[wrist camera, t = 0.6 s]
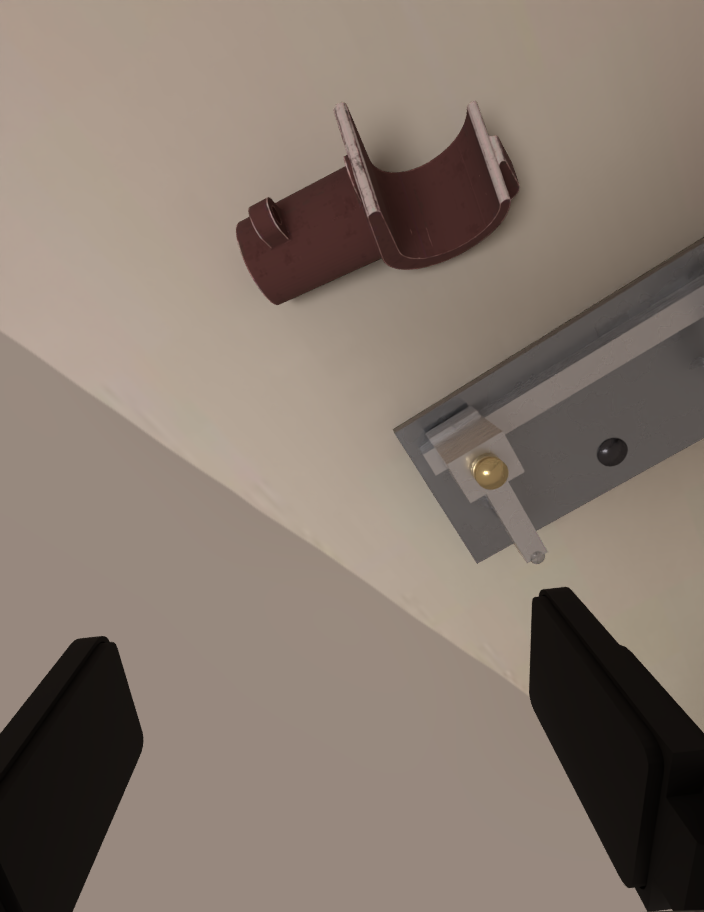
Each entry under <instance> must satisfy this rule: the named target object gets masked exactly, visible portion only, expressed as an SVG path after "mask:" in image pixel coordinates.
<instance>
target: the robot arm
mask: <svg viewBox="0 0 704 912" xmlns="http://www.w3.org/2000/svg"><path fill="white" fill-rule="evenodd" d="M529 695H530V700H531V704H532V707H533V709H534V711H535V713H536V715H537V717H538V719H539V721H540V723H541V725H542V727H543V729H544V731H545V733H546V735H547V737H548V739H549V741H550V743H551V745H552V746H553V748H554V750H555V752H556V754H557V756H558V758H559V760H560V762H561V764H562V766H563V768H564V770H565V772H566V774H567V776H568V778H569V779H570V782H571V783H572V785H573V787H574V789H575V791H576V793H577V795H578V797H579V799H580V801H581V803H582V805H583V807H584V809H585V811H586V813H587V814H588V817H589V819H590V820H591V822H592V824H593V826H594V828H595V830H596V832H597V834H598V836H599V838H600V840H601V842H602V844H603V846H604V848H605V850H606V852H607V854H608V855H609V857H610V859H611V861H612V863H613V865H614V867H615V869H616V871H617V873H618V875H619V876H620V878H621V880H622V882H623V883H624V884H625V885H626V886H627V887H628V888H634V887H635V889H636V891H637V893H638V895H639V896H640V898H641V900H642V902H643V904H644V906H645V908H646V910H647V912H651V911H652V912H704V733H703V732H702V731H701V729H700V728H699V727H698V726H697V725H696V724H695V723H694V722H693V720H692V719H691V718H690V717H689V716H688V715H687V714H686V713H685V712H684V710H683V709H682V708H681V707H680V706H679V705H678V704H677V703H676V701H675V700H674V699H673V698H672V697H671V696H670V695H669V694H668V692H667V691H666V690H665V689H664V688H663V687H662V686H661V685H660V684H659V682H658V681H657V680H656V679H655V678H654V677H653V676H652V675H651V673H650V672H649V671H648V670H647V669H646V668H645V667H644V666H643V664H642V663H641V662H640V661H639V660H638V659H637V658H636V657H635V655H634V654H633V653H632V652H631V651H630V650H628V649H627V648H626V647H624V646H622V645H619V644H618V643H617V641H616V640H615V639H614V638H613V637H612V636H611V635H610V633H609V632H608V631H607V630H606V629H605V628H604V627H603V626H602V624H601V623H600V622H599V621H598V620H597V619H596V618H595V616H594V615H593V614H592V613H591V612H590V611H589V610H588V608H587V607H586V606H585V605H584V604H583V603H582V602H581V600H580V599H579V598H578V597H577V596H576V595H575V594H574V592H573V591H572V590H571V589H570V588H568V587H561V588H552V589H543V590H541V591H540V593H539V597H534V598H533V600H532V620H531V651H530V682H529ZM142 747H143V732H142V729H141V726H140V722H139V719H138V716H137V712H136V709H135V706H134V702H133V699H132V696H131V692H130V689H129V686H128V682H127V679H126V675H125V672H124V669H123V665H122V662H121V659H120V655H119V652H118V648H117V646H116V644H115V643H114V642H109V640H108V638H107V637H105V636H99V637H89V638H80V639H76V640H75V641H74V642H73V643H71V645H70V646H69V647H68V648H67V650H66V651H65V652H64V654H63V655H62V656H61V657H60V659H59V660H58V661H57V663H56V664H55V665H54V666H53V667H52V669H51V670H50V671H49V673H48V674H47V675H46V676H45V678H44V679H43V680H42V681H41V683H40V684H39V685H38V687H37V688H36V689H35V690H34V692H33V693H32V694H31V696H30V697H29V698H28V699H27V701H26V702H25V703H24V704H23V706H22V707H21V708H20V709H19V711H18V712H17V713H16V714H15V716H14V717H13V718H12V719H11V721H10V722H9V723H8V725H7V726H6V727H5V728H4V730H3V731H2V732H1V733H0V912H73V909H74V907H75V905H76V902H77V900H78V898H79V895H80V893H81V891H82V888H83V886H84V883H85V882H86V879H87V877H88V874H89V872H90V870H91V867H92V865H93V863H94V861H95V858H96V856H97V853H98V852H99V849H100V847H101V844H102V842H103V840H104V838H105V835H106V833H107V831H108V828H109V826H110V824H111V821H112V819H113V817H114V815H115V812H116V810H117V807H118V805H119V803H120V801H121V798H122V796H123V794H124V791H125V789H126V787H127V785H128V782H129V780H130V777H131V775H132V773H133V770H134V768H135V766H136V764H137V761H138V759H139V757H140V754H141V752H142ZM668 909H672V910H673V911H659V910H668Z"/></svg>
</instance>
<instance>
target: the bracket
mask: <svg viewBox="0 0 704 912" xmlns="http://www.w3.org/2000/svg"><path fill="white" fill-rule="evenodd" d="M333 111H334V114H335V117H336V120H337V123H338V127H339V130H340V133H341V136H342V139H343V142H344V145H345V148H346V152H347V155H346V156H344V161H345V165H346V166H345V167H343V168H341V169H339V170H337V171H336V172H334V173H332V174H330V175H328V176H326V177H324V178H322V179H320V180H318V181H317V182H315V183H313V184H311V185H309V186H307V187H305V188H303V189H301V190H299V191H298V192H296V193H294V194H292V195H290V196H288V197H286V198H284V199H282V200H280V201H279V202H277V203H274V202H273V200H272V199H271V198H269V197H268V198H266V199H264V200H262V201H260V202H258V203H256V204H254V205H253V206H251V207H249V209H248V212H249V216H250V217H248V218H246V219H244V220H242V221H241V222H239V223H238V224H237V227H236V236H237V241H238V245H239V248H240V252H241V254H242V257H243V260H244V262H245V264H246V266H247V269H248V271H249V273H250V274H251V276H252V278H253V280H254V281H255V283H256V285H257V286H258V288H259V289H260V291H261V292H262V293H263V294H264V296H265V297H266V298H267V299H268V300H269V301H270V302H272V303H273V304H275V305H279V304H282V303H284V302H286V301H288V300H290V299H293V298H295V297H297V296H299V295H301V294H304V293H306V292H308V291H310V290H312V289H315V288H317V287H319V286H321V285H324V284H326V283H328V282H330V281H332V280H335V279H337V278H339V277H341V276H343V275H346V274H348V273H350V272H352V271H354V270H357V269H359V268H361V267H363V266H366V265H368V264H370V263H372V262H374V261H377V260H379V259H381V258H382V259H383V261H384V262H385V263H386V264H387V265H388V266H390V267H392V268H396V269H402V270H410V269H419V268H424V267H428V266H432V265H435V264H438V263H441V262H444V261H446V260H449V259H451V258H453V257H455V256H458V255H460V254H461V253H463V252H465V251H467V250H469V249H470V248H472V247H473V246H475V245H476V244H478V243H479V242H481V241H482V240H483V239H485V238H486V237H487V236H488V235H490V234H491V233H492V232H493V231H494V230H495V229H496V228H497V227H498V226H499V225H500V224H501V222H502V221H503V220H504V218H505V217H506V215H507V213H508V211H509V208H510V204H511V199H512V198H513V197H514V196H515V195H516V194H517V193H518V191H519V189H520V185H519V182H518V179H517V177H516V174H515V171H514V168H513V165H512V162H511V160H510V158H509V157H508V155H507V153H506V151H505V149H504V147H503V145H502V143H501V141H500V140H499V138H498V136H497V135H494V136H489V135H488V133H487V130H486V127H485V124H484V121H483V118H482V115H481V112H480V110H479V107H478V104H477V101H472V102H470V103H469V104H468V106H467V115H466V119H465V123H464V125H463V127H462V129H461V131H460V133H459V134H458V136H457V137H456V139H455V140H454V141H453V142H452V143H451V145H450V146H449V147H448V148H447V149H446V150H445V151H443V152H442V153H441V154H440V155H438V156H437V157H436V158H434V159H433V160H431V161H430V162H428V163H426V164H424V165H422V166H420V167H418V168H415V169H412V170H409V171H405V172H397V173H391V172H385V171H382V170H379V169H378V168H376V167H375V166H374V165H373V164H372V163H371V161H370V159H369V157H368V155H367V152H366V150H365V147H364V145H363V143H362V140H361V138H360V136H359V133H358V131H357V128H356V126H355V124H354V121H353V119H352V116H351V114H350V112H349V109H348V107H347V105H346V103H344V102H339V103H338V104H336V105H335V107H334V110H333Z"/></svg>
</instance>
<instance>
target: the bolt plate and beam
mask: <svg viewBox="0 0 704 912" xmlns="http://www.w3.org/2000/svg"><path fill="white" fill-rule="evenodd" d="M469 406H472V407H473V408H474V409H476V410H477V411H478V413H479V414H480V415H481V416H483V417H484V418H485V419H487V420H488V421H490V422H491V423H492V424H494V425H495V426H496V427H498V428H499V429H500V430H502V431H503V432H504V434H505V436H506V438H507V440H508V442H509V443H510V445H511V447H512V449H513V451H514V452H515V454H516V456H517V458H518V460H519V461H520V463H521V465H522V467H523V469H524V471H525V472H524V473H522V474H520V475H519V476H517V477H515V478H513V479H512V480H510V481H508V482H509V484H510V486H511V488H512V490H513V491H514V493H515V495H516V497H517V498H518V500H519V502H520V504H521V505H522V507H523V509H524V511H525V512H526V514H527V516H528V518H529V519H530V521H531V523H532V525H533V526H534V528H535V530H536V531H537V530H539V529H541V528H542V527H544V526H546V525H548V524H550V523H551V522H553V521H555V520H557V519H559V518H560V517H562V516H564V515H566V514H568V513H569V512H571V511H573V510H575V509H577V508H578V507H580V506H582V505H584V504H586V503H587V502H589V501H591V500H593V499H595V498H596V497H598V496H600V495H602V494H604V493H605V492H607V491H609V490H611V489H613V488H614V487H616V486H618V485H620V484H622V483H623V482H625V481H627V480H629V479H631V478H632V477H634V476H636V475H638V474H640V473H641V472H643V471H645V470H647V469H649V468H651V467H652V466H654V465H656V464H658V463H660V462H661V461H663V460H665V459H667V458H669V457H670V456H672V455H674V454H676V453H678V452H679V451H681V450H683V449H685V448H687V447H688V446H690V445H692V444H694V443H696V442H697V441H699V440H701V439H703V438H704V237H703V238H702V239H700V240H698V241H697V242H695V243H693V244H692V245H690V246H689V247H687V248H685V249H684V250H682V251H681V252H679V253H677V254H676V255H674V256H672V257H671V258H669V259H668V260H666V261H664V262H663V263H661V264H660V265H658V266H656V267H655V268H653V269H651V270H650V271H648V272H647V273H645V274H643V275H642V276H640V277H639V278H637V279H635V280H634V281H632V282H630V283H629V284H627V285H626V286H624V287H622V288H621V289H619V290H618V291H616V292H614V293H613V294H611V295H609V296H608V297H606V298H605V299H603V300H601V301H600V302H598V303H597V304H595V305H593V306H592V307H590V308H588V309H587V310H585V311H584V312H582V313H580V314H579V315H577V316H576V317H574V318H572V319H571V320H569V321H567V322H566V323H564V324H563V325H561V326H559V327H558V328H556V329H555V330H553V331H551V332H550V333H548V334H547V335H545V336H543V337H542V338H540V339H538V340H537V341H535V342H534V343H532V344H530V345H529V346H527V347H526V348H524V349H522V350H521V351H519V352H517V353H516V354H514V355H513V356H511V357H509V358H508V359H506V360H505V361H503V362H501V363H500V364H498V365H496V366H495V367H493V368H492V369H490V370H488V371H487V372H485V373H484V374H482V375H480V376H479V377H477V378H475V379H474V380H472V381H471V382H469V383H467V384H466V385H464V386H463V387H461V388H459V389H458V390H456V391H454V392H453V393H451V394H450V395H448V396H446V397H445V398H443V399H442V400H440V401H438V402H437V403H435V404H433V405H432V406H430V407H429V408H427V409H425V410H424V411H422V412H421V413H419V414H417V415H416V416H414V417H412V418H411V419H409V420H408V421H406V422H404V423H403V424H401V425H400V426H398V427H396V428H395V429H393V431H394V433H395V435H396V436H397V438H398V439H399V441H400V443H401V444H402V446H403V447H404V449H405V450H406V452H407V454H408V455H409V457H410V458H411V460H412V461H413V463H414V465H415V466H416V468H417V469H418V471H419V473H420V474H421V476H422V477H423V479H424V480H425V482H426V484H427V485H428V487H429V488H430V490H431V492H432V493H433V495H434V496H435V498H436V499H437V501H438V503H439V504H440V506H441V507H442V509H443V510H444V512H445V514H446V515H447V517H448V518H449V520H450V522H451V523H452V525H453V526H454V528H455V529H456V531H457V533H458V534H459V536H460V537H461V539H462V540H463V542H464V544H465V545H466V547H467V548H468V550H469V552H470V553H471V555H472V556H473V558H474V559H475V561H476V563H479V562H481V561H483V560H485V559H486V558H488V557H490V556H492V555H494V554H495V553H497V552H499V551H501V550H503V549H504V548H506V547H508V546H510V545H512V544H513V541H512V540H511V538H510V536H509V535H508V533H507V531H506V530H505V528H504V526H503V525H502V523H501V522H500V520H499V518H498V516H497V514H496V513H495V511H494V509H493V508H492V506H491V504H490V503H489V501H488V499H487V498H486V496H485V495H484V496H482V497H480V498H479V499H477V500H475V501H473V502H472V503H470V502H469V500H468V499H467V497H466V496H465V495H464V493H463V492H462V490H461V489H460V487H459V486H458V484H457V483H456V482H455V480H454V479H453V478H452V476H451V475H450V473H449V472H448V470H447V467H446V466H445V464H444V463H443V461H442V459H441V458H440V456H439V454H438V453H437V451H436V449H435V448H434V446H433V445H432V443H431V442H430V440H429V439H428V437H427V436H426V434H425V433H426V432H428V431H430V430H431V429H433V428H435V427H436V426H438V425H440V424H441V423H443V422H444V421H446V420H448V419H449V418H451V417H453V416H454V415H456V414H458V413H459V412H461V411H462V410H464V409H466V408H467V407H469Z"/></svg>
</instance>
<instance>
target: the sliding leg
mask: <svg viewBox="0 0 704 912" xmlns="http://www.w3.org/2000/svg"><path fill="white" fill-rule="evenodd" d="M425 434H426V436H427V437H428V439H429V440H430V442H431V443H432V445H433V446H434V448H435V449H436V451H437V453H438V454H439V456H440V458H441V459H442V461H443V463H444V464H445V466H446V467H447V470H448V472H449V473H450V475H451V476H452V478H453V479H454V480H455V482H456V483H457V484H458V486H459V487H460V489H461V490H462V492H463V493H464V495H465V496H466V497H467V499H468V500H469V502H470V503H472V502H473V501H475V500H477V499H479V498H480V497H482V496H484V495H485V496H486V498H487V499H488V501H489V503H490V504H491V506H492V508H493V509H494V511H495V513H496V514H497V516H498V518H499V520H500V522H501V523H502V525H503V526H504V528H505V530H506V531H507V533H508V535H509V536H510V538H511V540H512V541H513V543H514V545H515V547H516V548H517V550H518V552H519V553H520V554H521V556H522V557H523V558H524V560H525V561H526V562H527V563H529V562H530V561H531V562H532V563H534V564H539V563H541V562H543V560H544V558H545V555H544V554H545V553H547V552H548V551H547V549H546V548H545V546H544V544H543V542H542V541H541V539H540V537H539V535H538V534H537V532H536V530H535V528H534V526H533V525H532V523H531V521H530V519H529V518H528V516H527V514H526V512H525V511H524V509H523V507H522V505H521V504H520V502H519V500H518V498H517V497H516V495H515V493H514V491H513V490H512V488H511V486H510V484H509V482H508V481H510V480H512V479H513V478H515V477H517V476H519V475H520V474H522V473H524V472H525V471H524V469H523V467H522V465H521V463H520V461H519V460H518V458H517V456H516V454H515V452H514V451H513V449H512V447H511V445H510V443H509V442H508V440H507V438H506V436H505V434H504V432H503V431H502V430H500V429H499V428H498V427H496V426H495V425H494V424H492V423H491V422H490V421H488V420H487V419H485V418H484V417H483V416H481V415H480V414H479V413H478V411H477V410H476V409H474V408H473V407H472V406H469V407H467V408H466V409H464V410H462V411H461V412H459V413H458V414H456V415H454V416H453V417H451V418H449V419H448V420H446V421H444V422H443V423H441V424H440V425H438V426H436V427H435V428H433V429H431V430H430V431H428V432H426V433H425Z"/></svg>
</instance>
